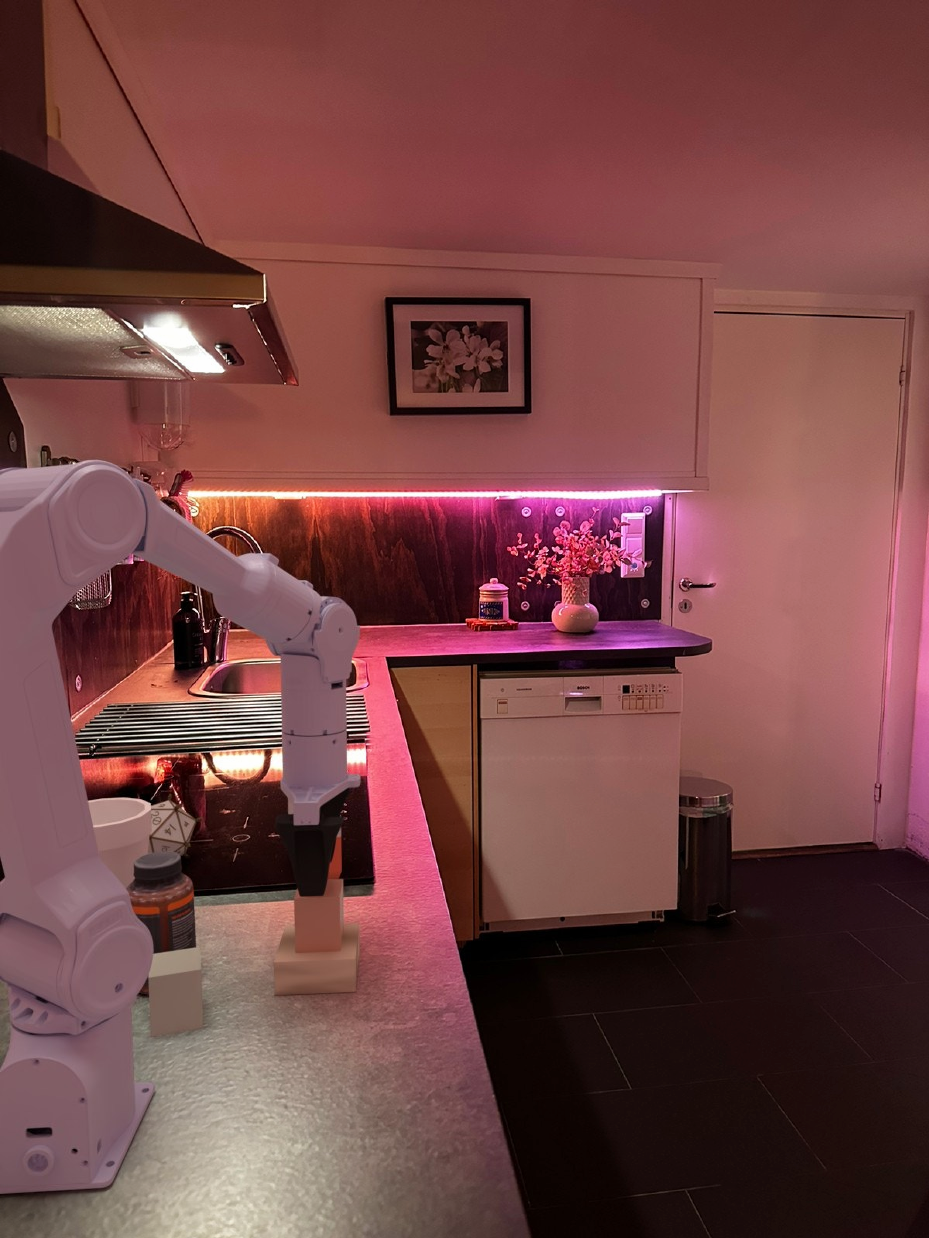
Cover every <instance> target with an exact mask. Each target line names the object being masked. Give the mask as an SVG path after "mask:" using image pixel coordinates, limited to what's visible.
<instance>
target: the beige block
mask: <svg viewBox="0 0 929 1238" xmlns="http://www.w3.org/2000/svg"><path fill="white" fill-rule="evenodd" d="M201 955H202V954H201V946H196V948H189V949H183V950H176V951H170V952H163V953H157V954H153V961H152V965H151V969H150V972H149V977H148V979H149V994H148V997H149V998H148V999H149V1001H148V1002H149V1003H148V1004H149V1027H150V1029H149V1030H150V1032H149V1033H150V1038H154V1037H160V1036H166V1035H167V1036H168V1035H171V1034H176V1033H182V1032H188V1031H194V1030H198V1029H203V1028H204V1011H203V1009H204V1008H203V982H202V981H203V980H202V975H203V973H202V957H201ZM187 1030H188V1031H187Z"/></svg>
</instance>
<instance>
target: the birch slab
mask: <svg viewBox="0 0 929 1238" xmlns="http://www.w3.org/2000/svg"><path fill="white" fill-rule="evenodd" d="M360 941H361V940H360V923H359V922H350V923H349V922H347V923H346V922H344V933H343V939H342V946H341V951H331V952H305V953H295V924H294V925H293V924H292V925H285V926H284V928H283V932H282V936H281V938H280V941H279V944H278V948H277V950H276V954H275V957H274V961H273V982H274V983H273V985H274V986H273V988H274V990H273V991H274V996H289V995H290V996H292V995H309V994H336V993H337V994H338V993H356V991H357V990H356V989H357V983H358V982H357V981H358V980H357V979H358V971H359V963H360V952H361V951H360V948H361V946H360Z"/></svg>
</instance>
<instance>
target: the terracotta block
mask: <svg viewBox="0 0 929 1238" xmlns="http://www.w3.org/2000/svg"><path fill="white" fill-rule="evenodd" d="M293 908H294V909H293V913H294V916H293V917H294V925H295V953H305V952H331V951H341V946H342V939H343V933H344V923H345V919H344V914H345V913H344V912H345V911H344V910H345V909H344V878H339V879H328V880H327V885H326V889H325V893H324V896H311V897H301V896H300V895H299V892H298V889H297V888H296V892H295V894H294V897H293Z"/></svg>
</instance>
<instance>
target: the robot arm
mask: <svg viewBox="0 0 929 1238" xmlns="http://www.w3.org/2000/svg"><path fill="white" fill-rule="evenodd" d="M129 555H133V556H136V557H137V558H139V559H142V560H144V561H145V562H148V563H150V564H152V565H154V566H156V567H158V568H160V569H162V570H164V571H166V572H168V573H170V574H172V575H174V576H176V577H179V578H180V579H183V580H184V581H186V582H188V583H191V584H192V585H194V586H196V587H198V588H201V589H203V590H205V591H206V592H209V593H211V594H212V600H213V604H214V607H215V609H216V611H217V613H218V614H219V615H220V616H222V617H223V618H225V619H227V620H228V621H230V622H232V623H234V624H236V625H238V626H239V627H242V628H243V629H245V630H247V631H249V632H250V633H252V634H255V635H257V637H260V638H261V639H264V641H265V643H266V646H267V649H268V650H269V651H270V652H271V654H272V655H273V656H274V657H280V659H279V660H280V698H281V699H280V701H281V703H280V704H281V706H280V707H281V709H280V711H281V751H282V755H281V757H282V758H281V759H282V777H281V779H280V790H281V791H282V793H283V794H284V795H285V796H286V797H287V800H288V799H289V800H290V801H291V802H292V804H293V813H294V814H288V813H283V814H281V813H280V814H279V813H278V814H277V816H276V818H275V821H274V826H275V830H276V832H277V835H278V836H279V838H280V839H281V841H282V843H283V845H284V846H285V848H286V851H287V853H288V857H289V860H290V863H291V864H290V865H291V868H292V872H293V877H294V880H295V881H294V882H295V885H296V890H297V889H298V892H299V895H300V896H301V897H311V896H324V893H325V889H326V885H327V880H328V874H329V866H330V863H331V862H332V859H333V855H334V851H335V845H336V838H337V835H338V832H339V830H340V828H341V829H342V825H343V823H344V819H345V816H342V815H341V814H342V811H343V808H344V805H345V803H346V801H347V799H348V797H349V795H350V792H351V789H352V788H359V787H360V785H361V775H360V774H358V773H357V774H356V773H348V742H347V741H348V740H347V739H348V738H347V737H348V733H347V731H348V730H347V729H348V727H347V725H348V724H347V721H348V720H347V717H348V716H347V713H348V712H347V680H348V679H349V678H350V676H351V675H350V674H351V673H352V670H353V669H352V668H353V667H352V666H353V665H352V661H353V655H354V653H355V651H356V649H357V646H358V644H359V640H360V636H361V635H360V633H361V626H360V625H358V623H357V617H356V614H355V613H354V611H353V609H352V608H351V607H350V606H349V604H347V603H346V601H344V600H343V599H341V598H340V597H336V596H324V595H323V596H321V595H320V594H319V593H318V592H317V591H315V590H314V585H313V584H312V583H311V582H310V581H308V580H305V579H304V580H301V579H300V580H299V579H297V578H296V577H294V576H293V575H291V574H290V573H288V572H287V571H285V570H284V569H283V568H281V567H279V566H278V564H279V562H280V560H279V558H278V557H276V556H275V555H273V554H272V553H269V552H268V553H266V552H265V553H263V552H262V553H261V552H260V553H254V552H250V553H245V554H242V555H239V556H237V555H235V554H233V553H232V552H231V551H230V550H228V549H227V548H225V547H224V546H222V545H221V544H220V543H218V542H217V541H216V540H214V539H213V538H212V537H211V536H209V535H208V534H206V533H205V532H203V530H202V529H199V528H198V527H196V525H195V524H193V523H191V522H190V521H189V520H188V519H186V518H185V517H183V516H182V515H181V514H179V513H178V512H177V511H175V510H174V509H173V508H171V507H170V506H168V505H167V504H166V503H164V502H163V501H161V500H160V498H159V497H158V494H157V492H156V490H155V489H154V487H153V486H152V485H151V484H150V483H148V482H146V481H145V482H144V481H142V480H140V479H138V478H133V477H132V476H131V475H130V474H129V473H128V472H127V471H126V470H124V469H123V468H121V467H120V466H119V465H116V464H114V463H112V462H110V461H109V462H108V461H105V460H100V459H87V460H82V461H80V462H76V463H74V464H73V463H71V464H59V465H52V466H41V467H39V466H38V467H29V468H28V467H8V468H2V469H0V861H1V865H2V869H3V873H4V878H2V880H1V881H0V981H1V983H5V984H6V985H7V1002H8V1003H9V1009H8V1010H9V1019H10V1020H9V1023H10V1036H9V1037H10V1038H9V1045H8V1050H7V1053H6V1055H5V1058H4V1061H3V1063H2V1065H1V1067H0V1194H19V1193H21V1194H22V1193H34V1192H52V1191H53V1192H54V1191H69V1190H70V1191H71V1190H72V1191H73V1190H85V1189H87V1190H88V1189H103V1188H106V1187H108V1186H111V1184H112V1183H113V1182H114V1180H115V1178H116V1176H117V1173H118V1171H119V1169H120V1167H121V1165H122V1162H123V1160H124V1158H125V1156H126V1154H127V1152H128V1149H129V1148H130V1145H131V1143H132V1140H133V1139H134V1136H135V1134H136V1133H137V1130H138V1128H139V1125H140V1123H141V1121H142V1119H143V1117H144V1115H145V1113H146V1111H147V1108H148V1106H149V1104H150V1101H151V1100H152V1098H153V1095H154V1093H155V1091H156V1084H155V1082H153V1081H140V1082H135V1068H134V1067H135V1065H134V1064H135V1062H134V1061H135V1060H134V1042H133V1041H134V1038H133V1035H134V1034H133V1017H132V1016H133V1013H132V1011H133V1009H132V1006H133V1005H134V1004H135V1003H136V1002H137V996H138V994H140V993H139V992H140V990H141V988H142V987H143V985H144V983H145V981H146V979H147V977H148V974H149V972H150V969H151V965H152V961H153V940H152V936H151V934H150V931H149V930H148V928H147V927H146V925H144V924H143V923H142V922H141V921H140V920H139V919H138V918H137V916H136V915H135V913H134V911H133V908H132V905H131V900H130V896H129V892H128V891H127V889H126V888H125V887H124V886H123V884H122V883H121V882H120V881H119V879H118V878H117V877H116V876H115V875H114V874H113V872H112V871H111V870H110V869H109V868H108V867H107V865H106V864H105V863H104V862H103V860H102V859H101V857H100V856H99V852H98V847H97V842H96V837H95V833H94V828H93V823H92V818H91V813H90V809H89V804H88V801H89V800H88V796H87V795H88V794H87V790H86V786H85V780H84V776H83V771H82V765H81V762H80V757H79V751H78V748H77V747H78V746H77V743H76V737H75V734H74V733H75V731H74V729H73V724H72V718H71V714H70V707H69V705H68V700H67V694H66V690H65V685H64V680H63V675H62V672H61V671H62V670H61V666H60V661H59V656H58V652H57V648H56V641H55V637H54V632H53V623H54V620H55V619H56V618H57V617H58V616H59V614H61V612H62V611H63V609H64V608H65V607H66V606H67V604H68V603H69V602H70V600H72V598H74V596H75V595H76V593H78V592H79V591H80V590H82V589H84V588H85V587H87V586H88V585H89V584H91V583H92V582H93V581H95V580H96V579H98V578H99V577H100V576H102V575H104V574H105V573H106V572H108V571H109V570H111V569H112V568H114V567H115V566H116V565H117V566H118V564H119V563H121V562H122V561H124V560H125V559H126V558H127V557H128V556H129ZM340 815H341V817H340Z"/></svg>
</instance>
